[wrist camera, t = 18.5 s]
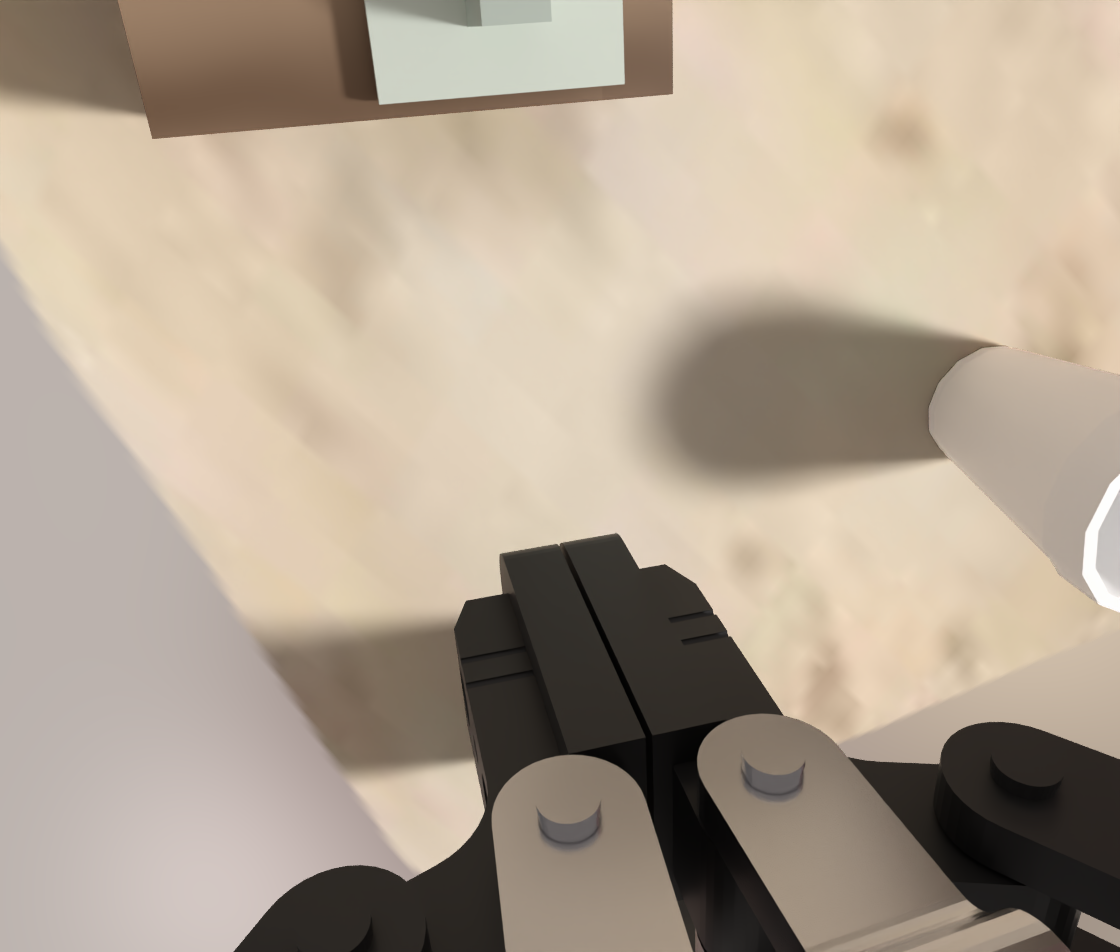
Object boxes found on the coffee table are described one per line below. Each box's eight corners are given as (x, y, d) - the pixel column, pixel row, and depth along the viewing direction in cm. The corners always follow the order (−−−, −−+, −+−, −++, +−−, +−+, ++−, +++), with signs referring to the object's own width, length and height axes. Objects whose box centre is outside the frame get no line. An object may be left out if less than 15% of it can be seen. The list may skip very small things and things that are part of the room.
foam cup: (922, 510, 50) (1097, 651, 39) (881, 374, 46) (1065, 488, 34) (1073, 428, 50) (1292, 545, 39) (1047, 283, 45) (1286, 368, 34)
